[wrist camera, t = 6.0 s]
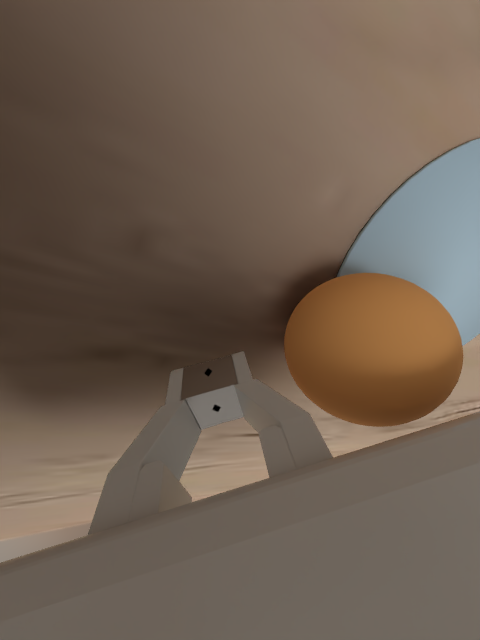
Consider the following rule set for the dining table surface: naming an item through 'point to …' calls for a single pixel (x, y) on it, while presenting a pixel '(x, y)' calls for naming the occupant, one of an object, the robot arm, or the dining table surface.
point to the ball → (373, 349)
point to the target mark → (431, 235)
